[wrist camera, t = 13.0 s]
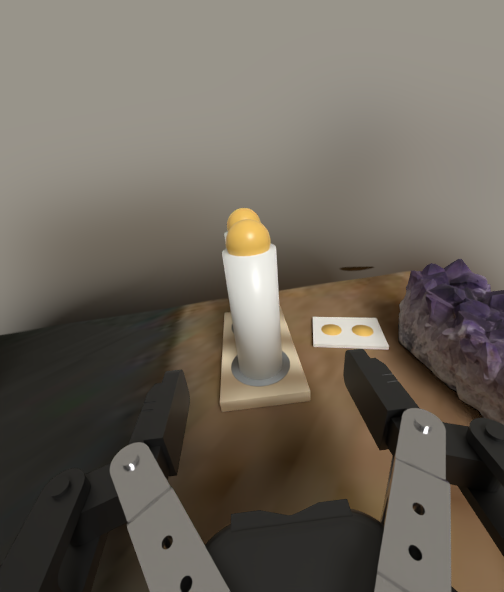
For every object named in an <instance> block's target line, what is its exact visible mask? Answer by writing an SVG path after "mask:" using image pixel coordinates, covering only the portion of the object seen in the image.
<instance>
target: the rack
mask: <svg viewBox="0 0 504 592" xmlns="http://www.w3.org/2000/svg"><path fill="white" fill-rule="evenodd" d="M279 311H280V328H281V346H282V368H281V370H280V372H279V373H278V374H277V375H275V376H274V377H272V378H269V379H265V380H254V379H250V378H247V377H246V376H244V375H243V374H242V373H241V371H240V368H239V362H238V355H237V349H236V342H235V335H234V329H233V322H232V316H231V312H226V313H225V315H224V334H223V352H222V371H221V389H220V406H221V411H222V412H227V411H235V410H243V409H251V408H259V407H267V406H275V405H283V404H291V403H299V402H307V401H310V389H309V386H308V383H307V380H306V377H305V375H304V372H303V369H302V366H301V363H300V360H299V358H298V355H297V352H296V349H295V346H294V344H293V341H292V338H291V335H290V332H289V329H288V327H287V324H286V321H285V318H284V315H283V312H282V310H281V307H280V306H279Z"/></svg>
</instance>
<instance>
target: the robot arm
mask: <svg viewBox="0 0 504 592" xmlns="http://www.w3.org/2000/svg"><path fill="white" fill-rule="evenodd" d="M344 381H345V385H346V387H347V389H348V391H349V393H350V395H351V397H352V399H353V401H354V402H355V404H356V406H357V408H358V410H359V412H360V414H361V416H362V418H363V420H364V421H365V423H366V425H367V427H368V429H369V431H370V433H371V435H372V437H373V439H374V440H375V442H376V444H377V446H378V448H379V450H386V449H389V450H390V452H391V454H392V455H393V457H392V461H391V467H390V472H389V478H388V484H387V489H386V495H385V500H384V506H383V510H382V515H381V520H380V522H379V521H378V520H376V519H375V518H373V517H371V516H370V515H367V514H365V513H363V512H360V511H357V510H354V509H350V507H349V504H348V501H347V499H342V500H334V501H326V502H319V503H317V504H314V505H312V506H310V507H308V508H306V509H304V510H302V511H300V512H298V513H296V514H294V515H283V514H277V513H272V512H266V511H261V510H258V511H251V512H243V513H235V514H231V524H230V525H228V526H226V527H225V528H223V529H222V530H220V531H219V532H218V533H216V534H215V535H214V536H213V537H212V538H211V539H210V540H209V541H208V542H207V544H206V545H204V543H203V542H202V540H201V538H200V536H199V535H198V533H197V531H196V529H195V527H194V526H193V524H192V522H191V520H190V518H189V517H188V515H187V513H186V511H185V509H184V508H183V506H182V504H181V502H180V500H179V499H178V497H177V495H176V493H175V491H174V490H173V488H172V487H170V485H169V483H168V481H167V480H168V476H175V475H177V472H178V466H179V461H180V455H181V450H182V444H183V438H184V433H185V427H186V422H187V416H188V411H189V405H190V396H189V391H188V387H187V383H186V380H185V376H184V372H183V370H174V371H166V372H165V375H164V378H163V381H162V383H158V384H155V385H154V386H153V387H152V388H151V389H150V391H149V392H148V393H147V396H146V399H145V401H144V404H143V407H142V409H141V413H140V415H139V417H138V420H137V423H136V425H135V428H134V430H133V433H132V436H131V438H130V441H129V444H128V446H126V447H124V448H123V449H122V450H120V451H119V452H118V453H117V454H116V456H115V457H114V458H113V460H112V462H111V463H110V464H108V465H106V466H103V467H101V468H99V469H96V470H94V471H92V472H89V473H87V474H84V472H83V471H82V470H81V469H78V468H71V469H68V470H65V471H63V472H61V473H59V474H58V475H56V476H55V477H54V478H52V479H51V480H50V481H49V482H48V483H47V484H46V486H45V487H44V488H43V490H42V491H41V493H40V495H39V496H38V498H37V500H36V502H35V504H34V506H33V508H32V509H31V511H30V513H29V515H28V517H27V519H26V521H25V522H24V524H23V526H22V528H21V530H20V532H19V533H18V535H17V537H16V539H15V541H14V543H13V545H12V546H11V548H10V550H9V552H8V554H7V556H6V558H5V559H4V561H3V563H2V565H1V567H0V592H91V589H92V585H93V582H94V579H95V575H96V572H97V568H98V565H99V562H100V558H101V555H102V551H103V548H104V545H105V541H106V538H107V534H108V532H109V531H111V530H112V529H114V528H116V527H118V526H120V525H122V524H124V523H126V522H127V528H128V531H129V534H130V537H131V540H132V543H133V546H134V548H135V551H136V554H137V557H138V560H139V562H140V565H141V568H142V571H143V574H144V577H145V579H146V582H147V585H148V588H149V591H150V592H457V591H456V590H455V589H454V588H453V587H452V586H451V510H450V484H452V485H457V486H458V487H459V489H460V490H461V492H462V493H463V495H464V496H465V498H466V500H467V501H468V503H469V504H470V506H471V507H472V509H473V510H474V512H475V513H476V515H477V516H478V518H479V519H480V521H481V523H482V524H483V526H484V527H485V529H486V530H487V532H488V533H489V535H490V536H491V538H492V539H493V541H494V542H495V544H496V545H497V547H498V549H499V550H500V552H501V553H502V555H503V556H504V425H503V424H501V423H499V422H497V421H494V420H491V419H487V418H476V419H474V420H472V421H471V423H470V425H469V427H468V426H462V425H455V424H449V423H444V422H441V420H440V419H439V418H438V417H436V416H435V415H434V414H432V413H430V412H428V411H426V410H423V409H420V408H419V407H418V405H417V404H416V403H415V402H414V400H413V399H412V398H411V397H410V395H409V394H408V393H407V391H406V390H405V389H404V388H403V386H402V385H401V384H400V383H399V382H398V381H397V379H396V377H395V376H394V375H392V372H391V371H390V370H389V369H388V367H387V366H386V365H385V364H384V363H382V362H381V361H379V360H378V359H376V358H371V359H370V357H369V356H368V355H367V353H366V352H365V351H364V350H363V349H354V350H347V351H346V353H345V363H344Z"/></svg>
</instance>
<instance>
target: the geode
mask: <svg viewBox="0 0 504 592" xmlns="http://www.w3.org/2000/svg"><path fill="white" fill-rule="evenodd" d="M406 290H407V292H406V295H405V298H404V299H403V300H402V301H401V303H400V304H399V306H400V313H399V324H398V328H399V337H398V339H399V343H400V344H401V345H403V346H404V347H405V348H406V349H408V350H409V351H410V352H411V353H412V354H413V355H414V356H415V357H416V358H417V359H419V360H420V361H421V362H422V363H424V364H425V365H426V366H427V367H428V368H429V369H430V370H431V371H432V372H433V373H434V375H436V376H437V377H438V378H439V379H440V380H442V381H443V382H444V383H445V384H446V385H447V386H448V387H449V388H451V389H453V390H455V391H457V394H458V397H459V399H460V400H462V401H463V402H465V403H466V404H468V405H471V406H472V407H474V408H475V409H477V410H478V411H479V412H480V413H481V415H482V416H483V417H484V418H487V419H491V420H494V421H497V422H499V423H501V424H503V425H504V290H501V291H493V292H491V290H490V284H487V280H486V278H485V277H484V276H481V275H478V274H474V273H472V272H471V270H470V269H469V268H468V267H467V265H466V264H465V263H464V262H463V260H462V259H458V260H456V261H454V262H453V263H451V264H450V265H448V266H447V267H445V268H444V269H443V268H441V267H440V266H438V265H436V264H432V263H431V264H429V265H427V266H426V267H425V268H424V269H423V271H411V273H410V278H409V281H408V285H407V287H406Z"/></svg>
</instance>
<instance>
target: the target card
mask: <svg viewBox="0 0 504 592" xmlns="http://www.w3.org/2000/svg"><path fill="white" fill-rule="evenodd" d="M313 347H333V348H358V349H383V350H389V346H388V343H387V341H386V339H385V336H384V334H383V332H382V330H381V327H380V325H379V323H378V320H377V318H345V317H313Z"/></svg>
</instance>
